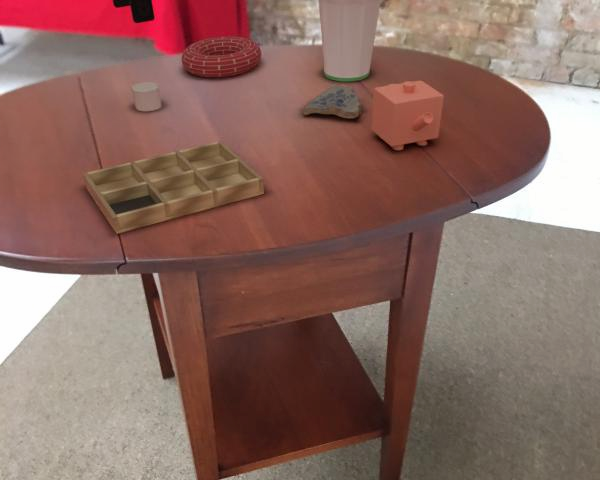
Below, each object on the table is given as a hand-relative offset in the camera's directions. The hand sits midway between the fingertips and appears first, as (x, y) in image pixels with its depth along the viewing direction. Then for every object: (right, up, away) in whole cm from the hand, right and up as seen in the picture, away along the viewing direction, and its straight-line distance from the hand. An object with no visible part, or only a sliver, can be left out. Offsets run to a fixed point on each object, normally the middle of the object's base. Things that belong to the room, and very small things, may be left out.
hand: (133, 13), depth 98 cm
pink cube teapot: (+42, -21, -2) cm, 47 cm away
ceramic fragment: (+32, -12, +7) cm, 35 cm away
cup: (+34, 0, +19) cm, 39 cm away
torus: (+11, +4, +24) cm, 26 cm away
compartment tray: (+9, -31, -12) cm, 35 cm away
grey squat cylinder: (0, -10, +10) cm, 14 cm away
